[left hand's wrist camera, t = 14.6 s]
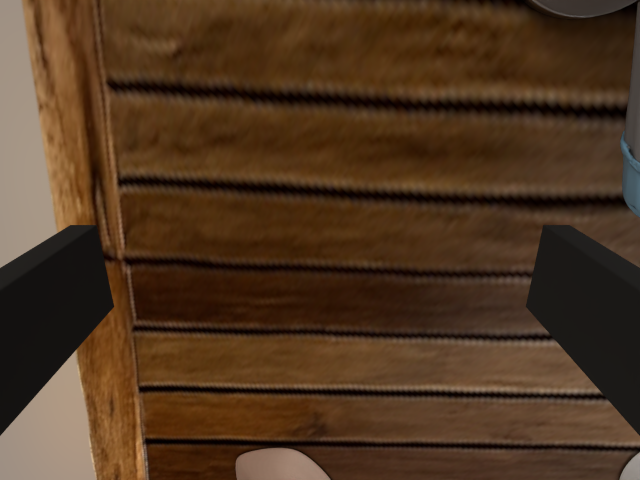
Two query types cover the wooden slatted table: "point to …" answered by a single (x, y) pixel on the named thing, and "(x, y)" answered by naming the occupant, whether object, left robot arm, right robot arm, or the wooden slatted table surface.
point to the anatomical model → (277, 466)
